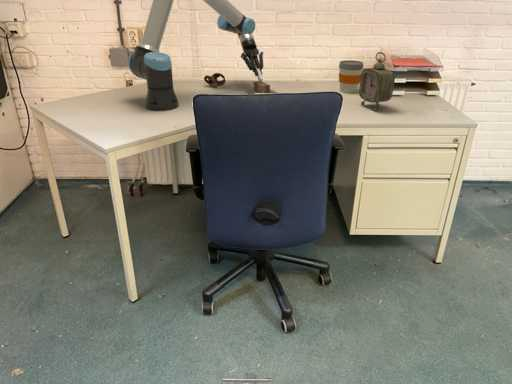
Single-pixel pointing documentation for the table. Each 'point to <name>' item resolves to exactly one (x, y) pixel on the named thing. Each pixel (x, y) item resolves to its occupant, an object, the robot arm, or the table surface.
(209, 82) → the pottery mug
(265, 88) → the walnut block
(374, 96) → the tabletop clock
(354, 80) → the reusable coffee cup
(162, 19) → the robot arm
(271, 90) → the rubber mat
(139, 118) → the table surface
